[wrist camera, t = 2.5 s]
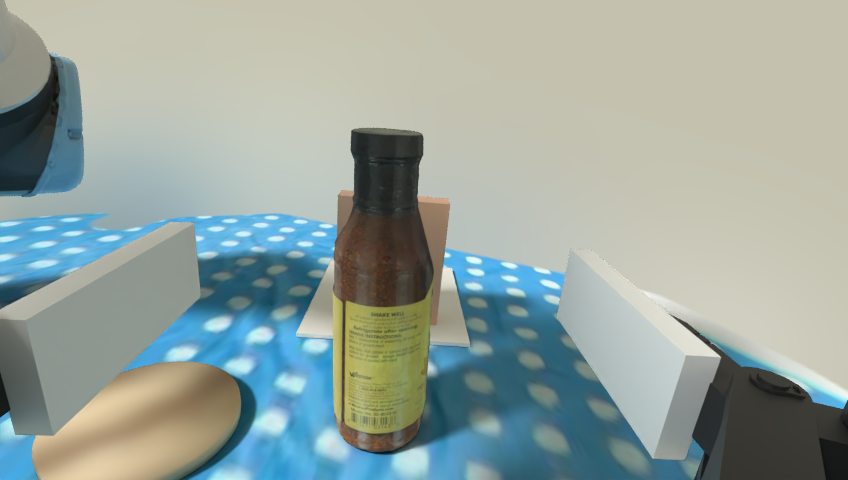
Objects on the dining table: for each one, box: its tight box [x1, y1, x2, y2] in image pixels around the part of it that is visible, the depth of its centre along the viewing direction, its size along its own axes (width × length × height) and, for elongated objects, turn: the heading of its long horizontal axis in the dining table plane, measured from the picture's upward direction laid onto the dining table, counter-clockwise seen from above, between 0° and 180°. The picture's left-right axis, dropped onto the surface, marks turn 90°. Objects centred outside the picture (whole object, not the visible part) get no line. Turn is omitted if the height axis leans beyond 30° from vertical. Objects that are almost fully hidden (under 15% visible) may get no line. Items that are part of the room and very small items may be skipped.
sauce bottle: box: [332, 128, 434, 452], centre depth 26 cm, size 6×6×20 cm
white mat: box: [296, 260, 470, 347], centre depth 47 cm, size 18×16×1 cm
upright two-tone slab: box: [337, 190, 450, 325], centre depth 41 cm, size 2×10×12 cm, turn 92°
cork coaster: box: [32, 362, 241, 480], centre depth 27 cm, size 11×11×1 cm
